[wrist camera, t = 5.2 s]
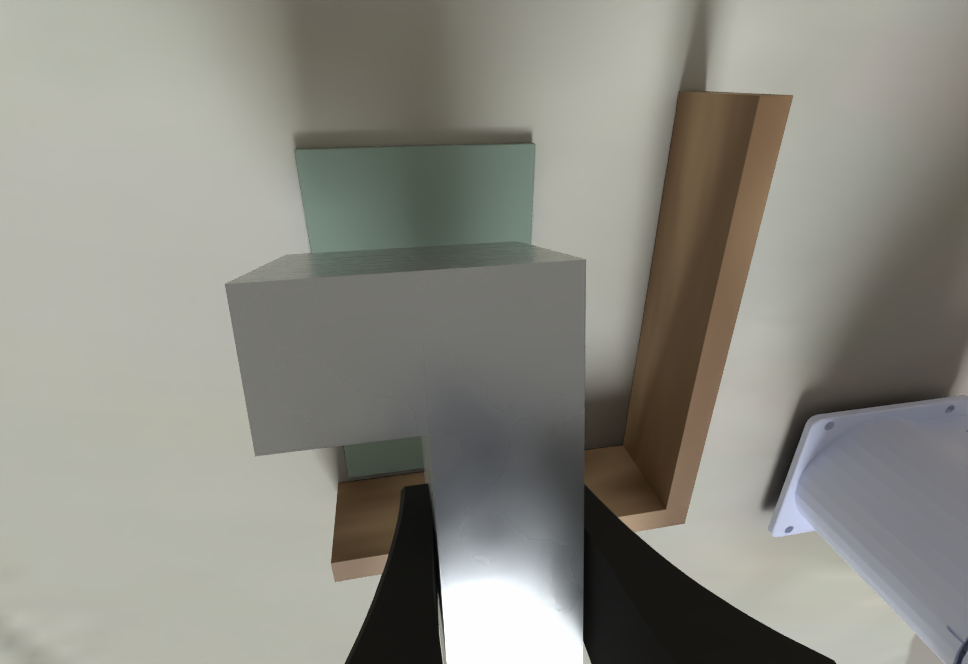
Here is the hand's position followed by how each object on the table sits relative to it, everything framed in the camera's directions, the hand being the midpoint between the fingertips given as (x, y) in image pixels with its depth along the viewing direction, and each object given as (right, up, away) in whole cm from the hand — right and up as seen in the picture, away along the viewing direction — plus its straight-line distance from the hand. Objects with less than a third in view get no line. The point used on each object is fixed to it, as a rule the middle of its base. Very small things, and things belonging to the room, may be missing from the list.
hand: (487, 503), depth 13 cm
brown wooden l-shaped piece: (+1, +5, +6) cm, 8 cm away
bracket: (-2, +2, +1) cm, 3 cm away
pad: (-1, +5, +6) cm, 8 cm away
